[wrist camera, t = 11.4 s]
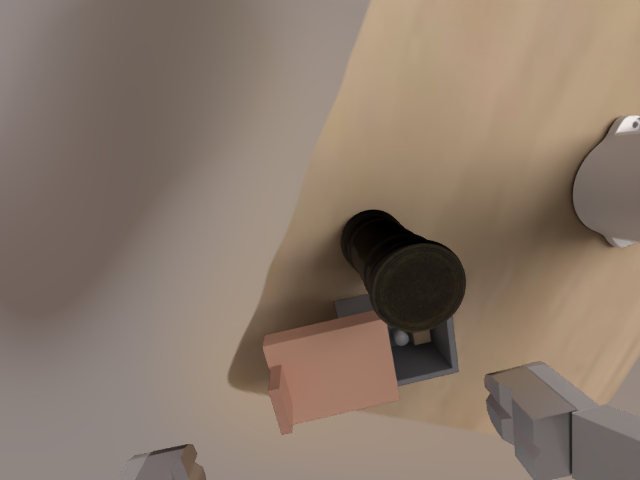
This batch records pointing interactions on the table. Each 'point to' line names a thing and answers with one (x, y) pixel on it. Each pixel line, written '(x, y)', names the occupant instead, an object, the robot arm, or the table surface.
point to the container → (403, 272)
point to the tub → (412, 345)
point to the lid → (330, 368)
